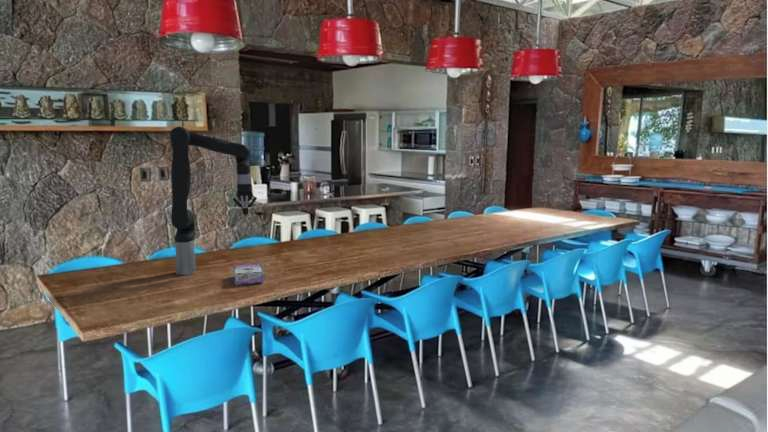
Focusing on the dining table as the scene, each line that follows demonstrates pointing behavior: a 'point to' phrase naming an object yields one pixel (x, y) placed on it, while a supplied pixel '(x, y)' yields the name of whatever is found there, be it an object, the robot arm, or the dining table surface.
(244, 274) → the candy box
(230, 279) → the mat
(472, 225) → the dining table surface
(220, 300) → the dining table surface
